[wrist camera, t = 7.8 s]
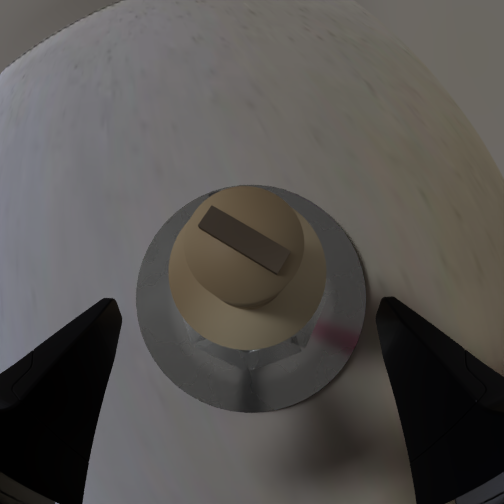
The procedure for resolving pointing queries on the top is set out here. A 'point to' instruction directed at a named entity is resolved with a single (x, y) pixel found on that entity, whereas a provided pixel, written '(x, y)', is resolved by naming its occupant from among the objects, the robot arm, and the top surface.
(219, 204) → the knob
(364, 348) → the top surface
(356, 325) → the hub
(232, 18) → the top surface
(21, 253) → the top surface
